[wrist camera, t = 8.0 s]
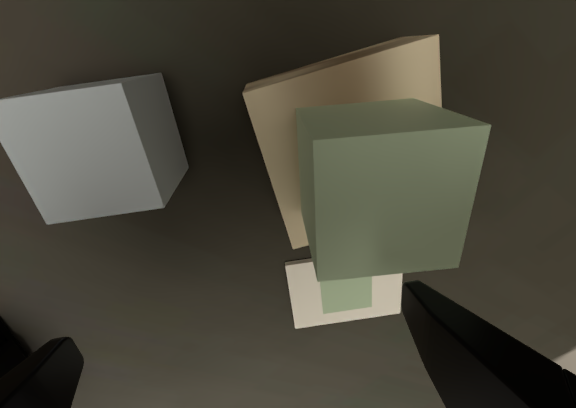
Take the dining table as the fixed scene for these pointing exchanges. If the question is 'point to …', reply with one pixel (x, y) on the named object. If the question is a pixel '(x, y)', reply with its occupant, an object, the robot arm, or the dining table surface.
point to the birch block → (332, 91)
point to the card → (339, 296)
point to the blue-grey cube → (95, 147)
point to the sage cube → (387, 186)
